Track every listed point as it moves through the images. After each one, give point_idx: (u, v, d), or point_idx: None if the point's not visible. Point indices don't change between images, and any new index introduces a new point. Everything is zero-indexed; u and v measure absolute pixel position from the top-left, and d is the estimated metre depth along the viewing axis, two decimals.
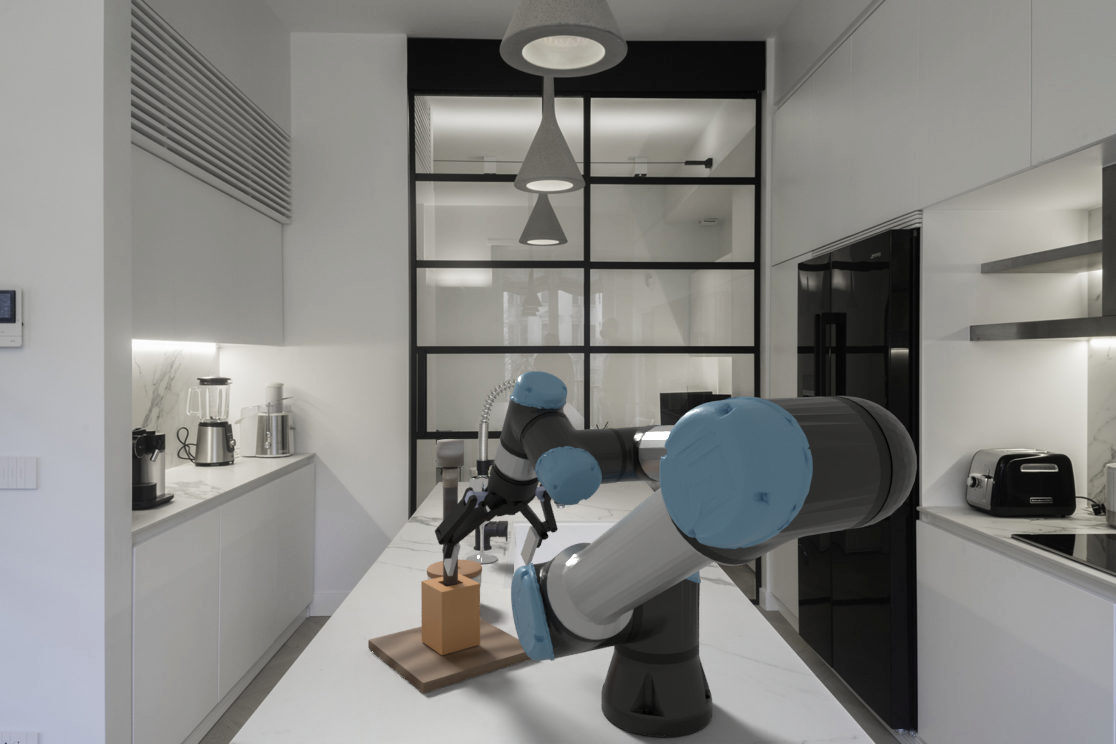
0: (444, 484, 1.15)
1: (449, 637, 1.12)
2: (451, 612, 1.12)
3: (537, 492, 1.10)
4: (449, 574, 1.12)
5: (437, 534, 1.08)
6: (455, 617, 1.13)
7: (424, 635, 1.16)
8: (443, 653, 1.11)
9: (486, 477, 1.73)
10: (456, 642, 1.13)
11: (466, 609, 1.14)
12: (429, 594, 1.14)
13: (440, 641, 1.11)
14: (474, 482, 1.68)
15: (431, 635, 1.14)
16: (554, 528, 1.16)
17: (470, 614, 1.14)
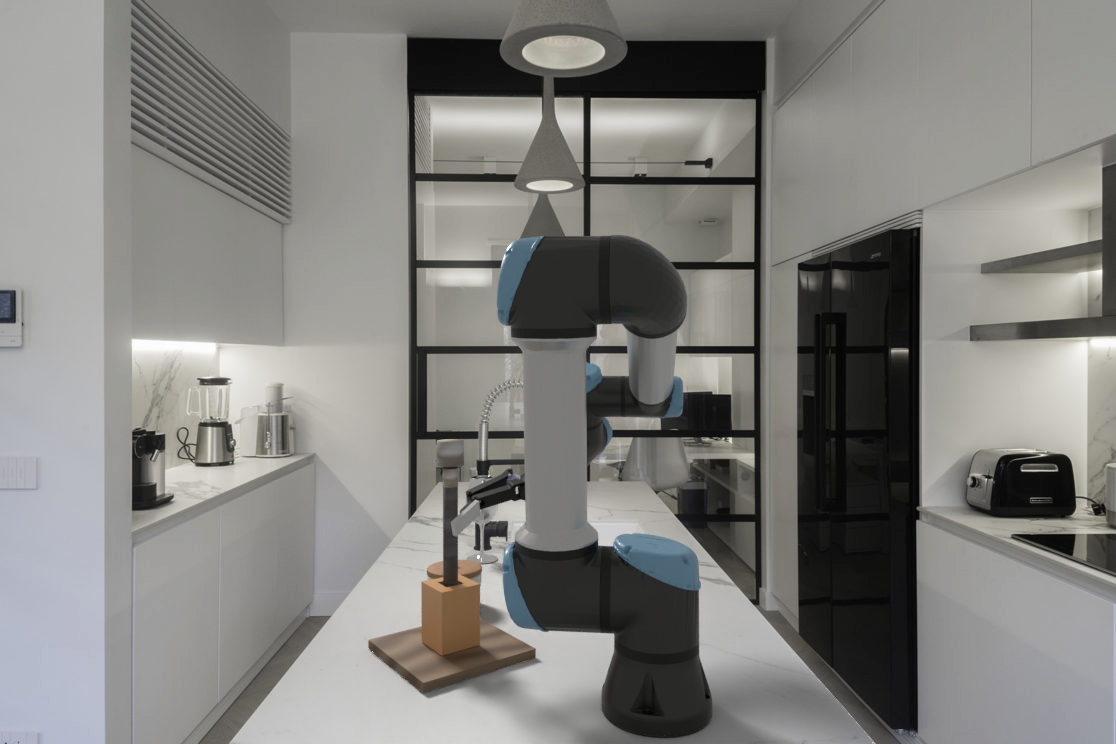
0: (444, 484, 1.15)
1: (449, 638, 1.12)
2: (451, 612, 1.12)
3: None
4: (452, 521, 1.13)
5: None
6: (455, 617, 1.13)
7: (424, 636, 1.16)
8: (443, 654, 1.11)
9: (486, 477, 1.73)
10: (456, 643, 1.13)
11: (466, 610, 1.14)
12: (429, 595, 1.14)
13: (440, 642, 1.11)
14: (474, 482, 1.68)
15: (431, 636, 1.14)
16: None
17: (470, 614, 1.14)
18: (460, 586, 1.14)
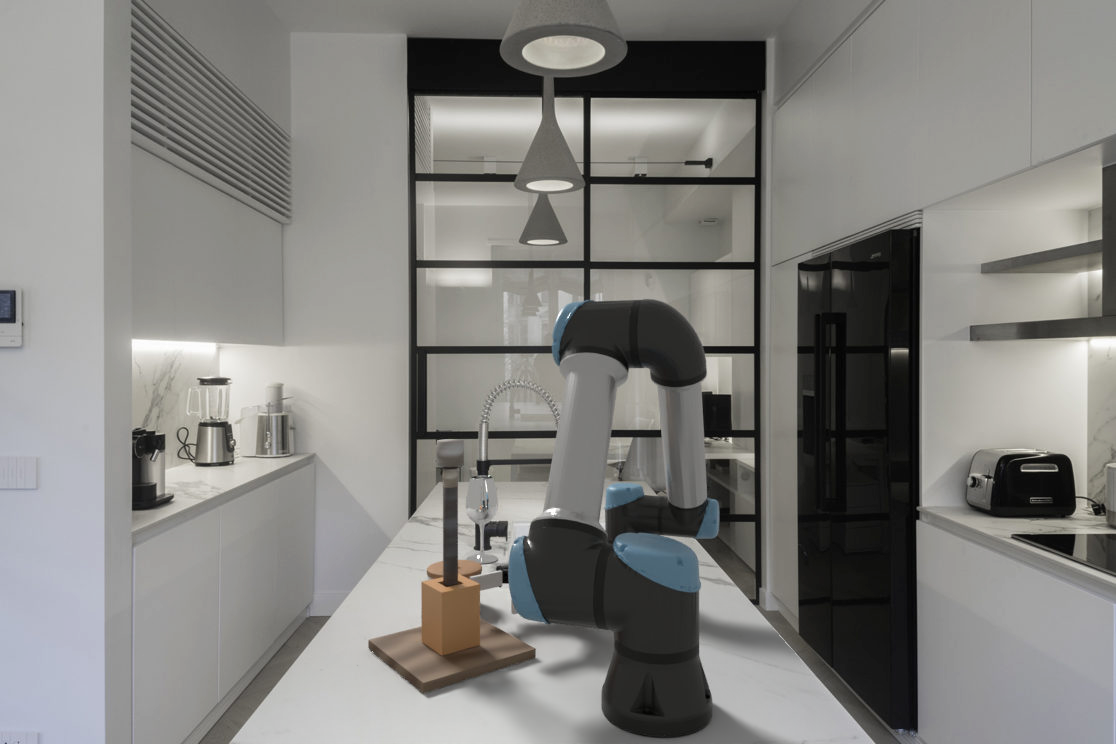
0: (444, 484, 1.15)
1: (449, 638, 1.12)
2: (451, 612, 1.12)
3: None
4: (471, 576, 1.27)
5: None
6: (455, 617, 1.13)
7: (424, 636, 1.16)
8: (443, 654, 1.11)
9: (486, 477, 1.73)
10: (456, 643, 1.13)
11: (466, 610, 1.14)
12: (429, 595, 1.14)
13: (440, 642, 1.11)
14: (474, 482, 1.68)
15: (431, 636, 1.14)
16: None
17: (470, 614, 1.14)
18: (460, 586, 1.14)
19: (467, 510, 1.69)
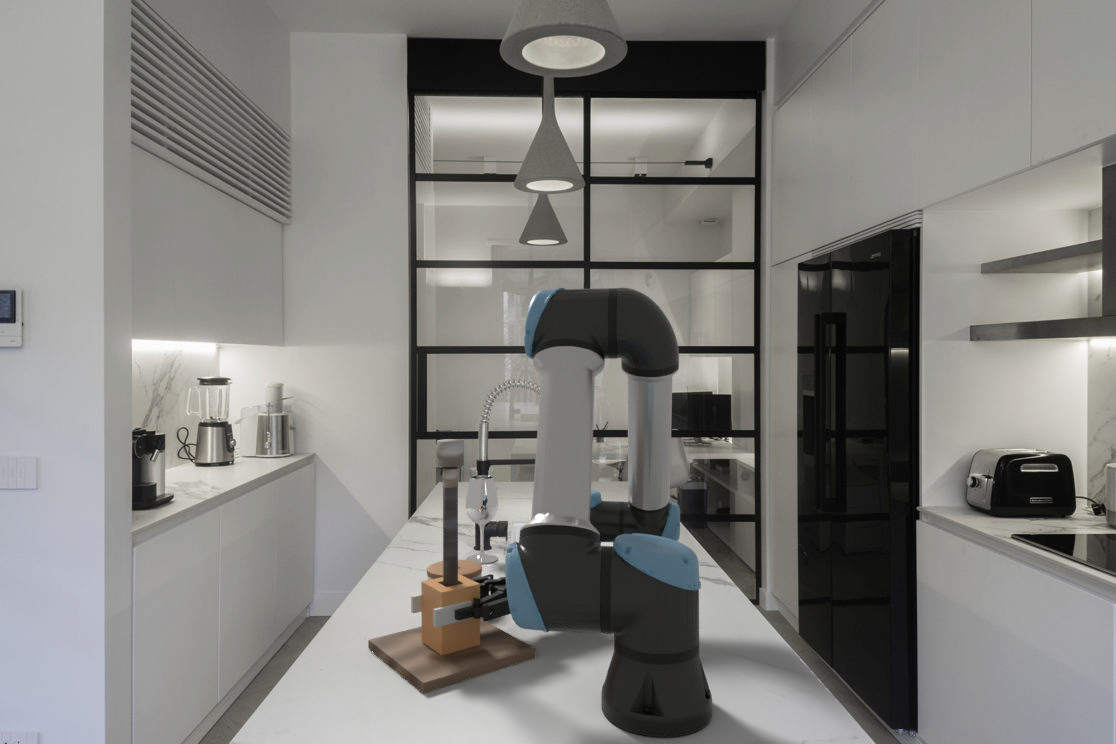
0: (444, 484, 1.15)
1: (449, 638, 1.12)
2: None
3: None
4: (413, 595, 1.16)
5: None
6: None
7: (424, 635, 1.16)
8: (443, 653, 1.11)
9: (486, 477, 1.73)
10: (456, 643, 1.13)
11: None
12: (429, 595, 1.14)
13: (440, 642, 1.11)
14: (474, 482, 1.68)
15: (431, 636, 1.14)
16: (488, 604, 1.13)
17: None
18: (460, 586, 1.14)
19: (467, 510, 1.69)
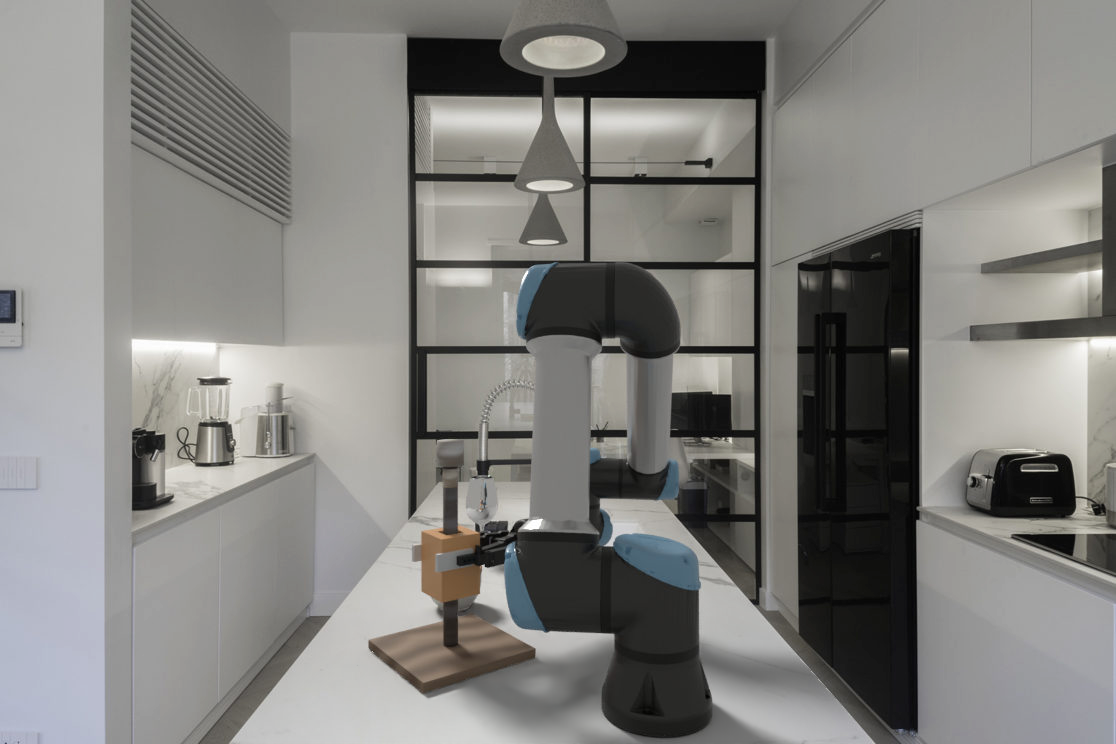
0: (444, 484, 1.15)
1: (449, 585, 1.12)
2: None
3: None
4: (414, 544, 1.16)
5: None
6: None
7: (424, 585, 1.16)
8: (443, 601, 1.11)
9: (486, 477, 1.73)
10: (456, 591, 1.13)
11: None
12: (429, 543, 1.14)
13: (440, 589, 1.11)
14: (474, 482, 1.68)
15: (431, 584, 1.14)
16: (490, 551, 1.13)
17: None
18: (460, 534, 1.14)
19: (467, 510, 1.69)
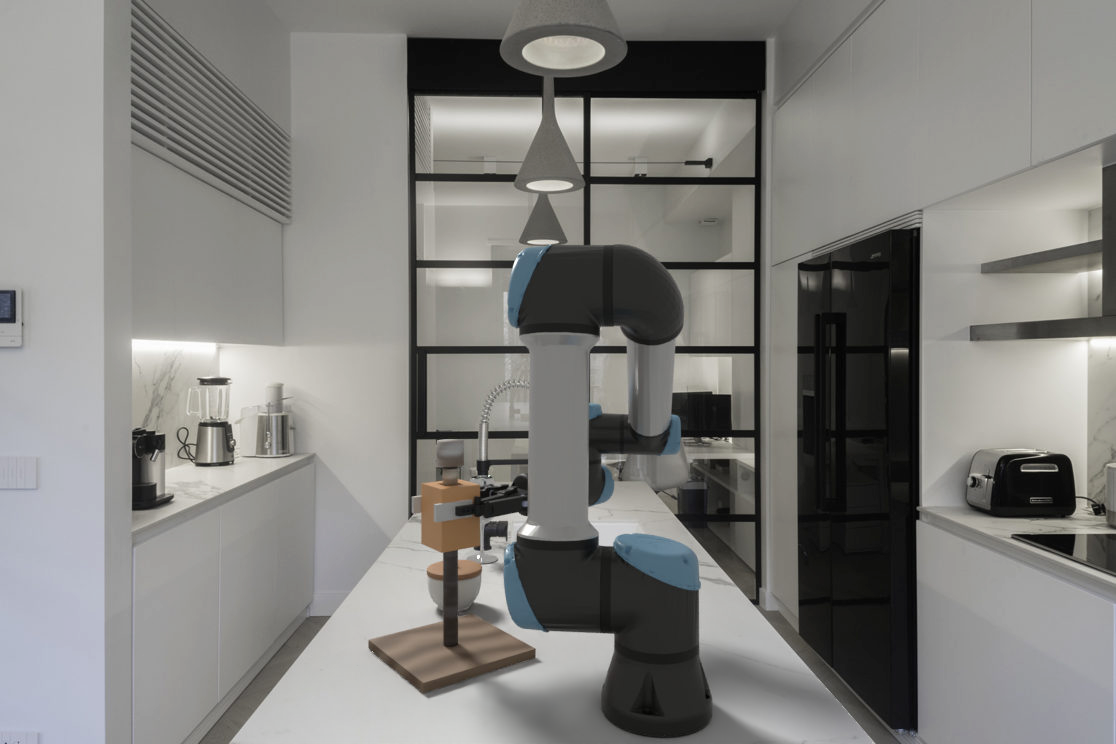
0: (444, 484, 1.15)
1: (449, 535, 1.12)
2: None
3: None
4: (414, 496, 1.16)
5: None
6: None
7: (424, 537, 1.16)
8: (443, 551, 1.11)
9: (486, 477, 1.73)
10: (456, 541, 1.13)
11: None
12: (429, 494, 1.14)
13: (440, 539, 1.11)
14: (474, 482, 1.68)
15: (430, 535, 1.14)
16: (489, 501, 1.13)
17: None
18: (460, 485, 1.14)
19: None
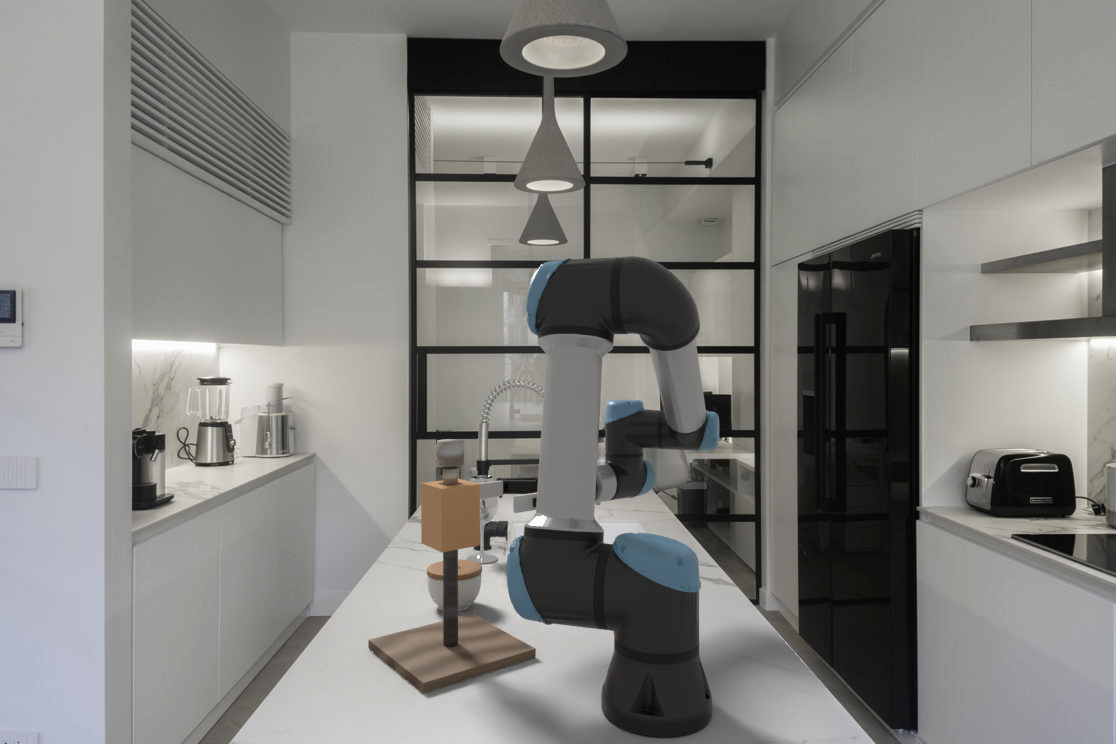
0: (444, 484, 1.15)
1: (449, 535, 1.12)
2: (451, 510, 1.12)
3: None
4: None
5: None
6: (455, 515, 1.12)
7: (424, 536, 1.16)
8: (443, 550, 1.11)
9: (486, 477, 1.73)
10: (456, 541, 1.13)
11: (466, 509, 1.14)
12: (429, 494, 1.14)
13: (440, 539, 1.11)
14: (474, 482, 1.68)
15: (430, 535, 1.14)
16: None
17: (470, 514, 1.14)
18: (460, 485, 1.14)
19: None
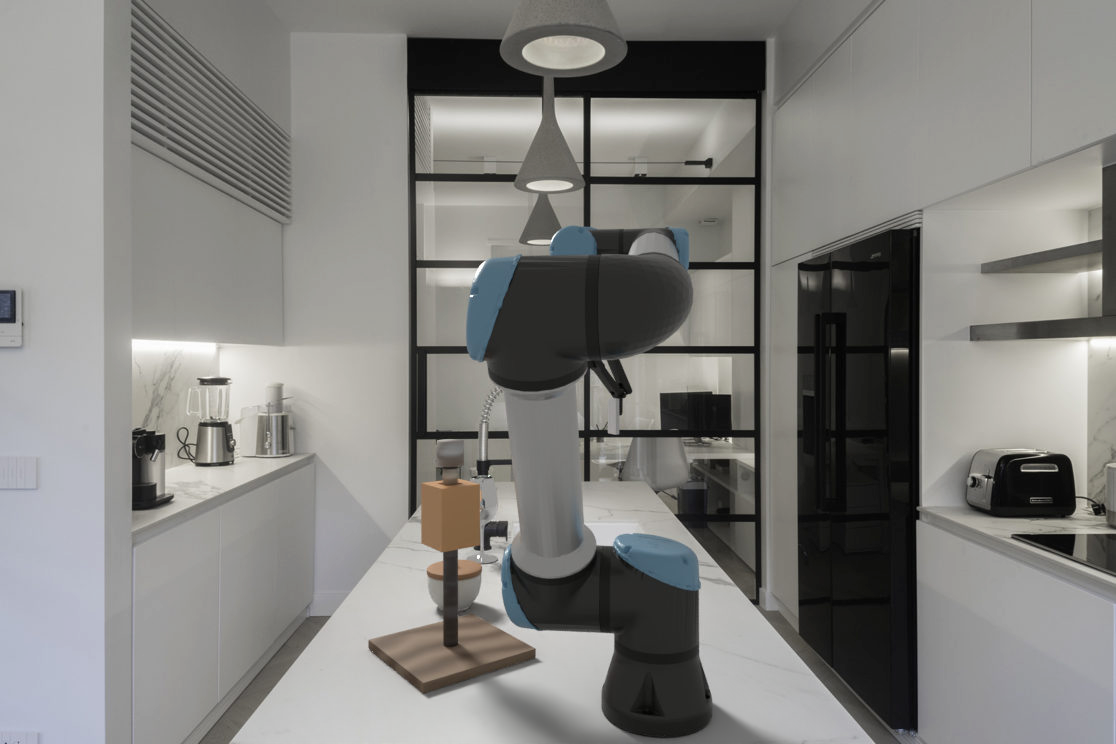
0: (444, 484, 1.15)
1: (449, 535, 1.12)
2: (451, 510, 1.12)
3: None
4: None
5: None
6: (455, 515, 1.12)
7: (424, 536, 1.16)
8: (443, 550, 1.11)
9: (486, 477, 1.73)
10: (456, 541, 1.13)
11: (466, 509, 1.14)
12: (429, 494, 1.14)
13: (440, 539, 1.11)
14: (474, 482, 1.68)
15: (430, 535, 1.14)
16: (629, 388, 1.29)
17: (470, 514, 1.14)
18: (460, 485, 1.14)
19: None
